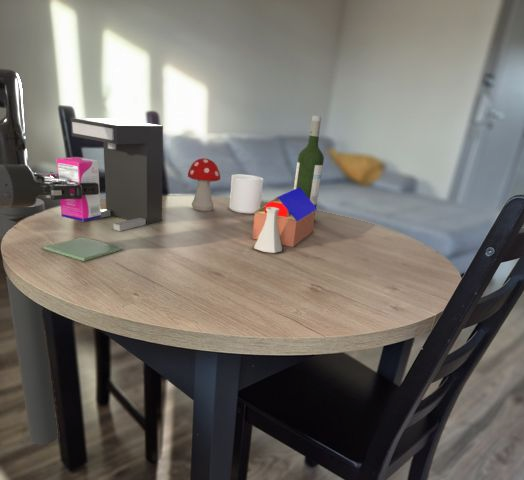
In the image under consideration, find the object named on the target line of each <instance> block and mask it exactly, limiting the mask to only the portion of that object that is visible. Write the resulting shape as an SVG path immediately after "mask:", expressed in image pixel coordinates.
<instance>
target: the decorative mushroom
mask: <svg viewBox="0 0 524 480" xmlns="http://www.w3.org/2000/svg"><path fill="white" fill-rule="evenodd" d="M187 177H188V178H189V179H191V180H194V181H197V186H196V188H195V193H194V198H193V200H192V201H191V207H192V209H193V210H196V211H203V212H211V211H213V209H214V206H215V205H214V201H213V199H212V198H213V197H212V190H211V182H212V183H213V182H218V181H221V173H220V170H219V167H218V166H217V164H216V162H214V161H213V160H211V159H209V158H207V157H206V158H205V157H203V158H202V157H201V158H198V159H196V160H195V161H194V162H192V164H191V165H190V168H189V170H188V172H187Z"/></svg>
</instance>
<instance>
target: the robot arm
mask: <svg viewBox="0 0 524 480" xmlns="http://www.w3.org/2000/svg"><path fill="white" fill-rule="evenodd" d="M0 109H5V114H4V115H3V117H1V118H0V208H8V207H30V206H33V205H34V204H35V203H36V198H38V196H43V198H45V199H50V200H52V201H57V200H60V199H81V198H82V195H97V194H98V193H99V188H100V184H99V185H98V184H97V183H79V182H69V181H68V180H67V179H62V178H58V173H55V172H53V171H50V172H33V171H32V169H31V168H30V167H29V161H28V160H29V159H28V151H27V145H26V144H27V143H26V135H25V117H24V104H23V88H22V82H21V79H20V76H19V74H18V73H17V71H16V70H14V69H11V68H4V67H0ZM61 183H62V184H63V185H61ZM71 188H74V192H75V193H73V192H70V189H71Z"/></svg>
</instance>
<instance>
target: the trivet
mask: <svg viewBox="0 0 524 480" xmlns="http://www.w3.org/2000/svg"><path fill="white" fill-rule="evenodd" d="M43 249H44V250H46V251H49V252H52V253H56V254H58V255H59V254H60V255H63V256H66V257H69V258H72V259H74V260H79V261H82V262H86V261H89V260H92V259H95V258H100V257H103V256H106V255H109V254H112V253H115V252H119V251H121V250H122V247H121V246H117V245H114V244H110V243H107V242H102V241H99V240H95V239H92V238H88V237H85V236H82V237H78V238H74V239H69V240H66V241H62V242H58V243H53V244H49V245H45V246H44V247H43Z"/></svg>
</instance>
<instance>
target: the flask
mask: <svg viewBox="0 0 524 480" xmlns="http://www.w3.org/2000/svg"><path fill="white" fill-rule="evenodd" d="M266 211H267V217H266V220H265V224H264V226H263V228H262V231H261V233H260V235H259V237H258V239H256V241H255V244H254V246H253V249H255V250H258V251H260V252H264V253H272V254H276V253H279V252H283V251H282V250H283V245H281V241H280V236H279V231H278V226H277V213H278V212H279V209H278V208H274V207H267V208H266Z"/></svg>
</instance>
